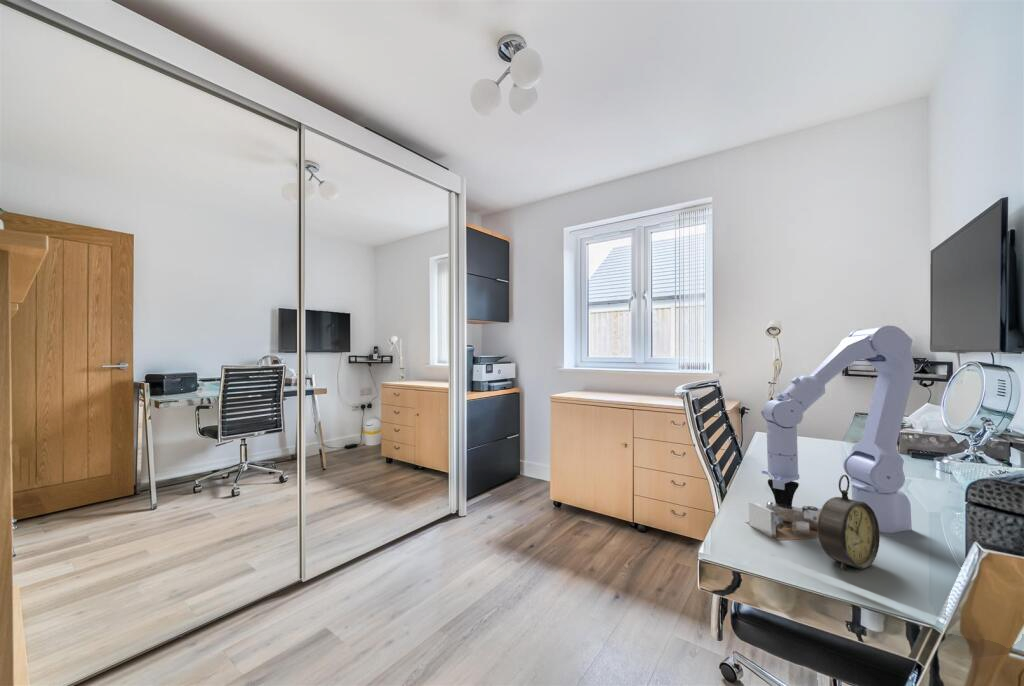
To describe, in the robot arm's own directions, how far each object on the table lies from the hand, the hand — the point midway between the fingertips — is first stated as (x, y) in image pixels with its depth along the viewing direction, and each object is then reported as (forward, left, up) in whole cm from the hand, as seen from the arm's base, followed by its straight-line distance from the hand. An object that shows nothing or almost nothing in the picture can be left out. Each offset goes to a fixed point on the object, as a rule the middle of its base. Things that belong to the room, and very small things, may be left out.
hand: (783, 514), depth 88 cm
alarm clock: (+5, +19, -2) cm, 20 cm away
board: (+2, +5, -2) cm, 6 cm away
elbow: (0, +3, -1) cm, 3 cm away
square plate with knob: (+6, +5, -1) cm, 8 cm away
